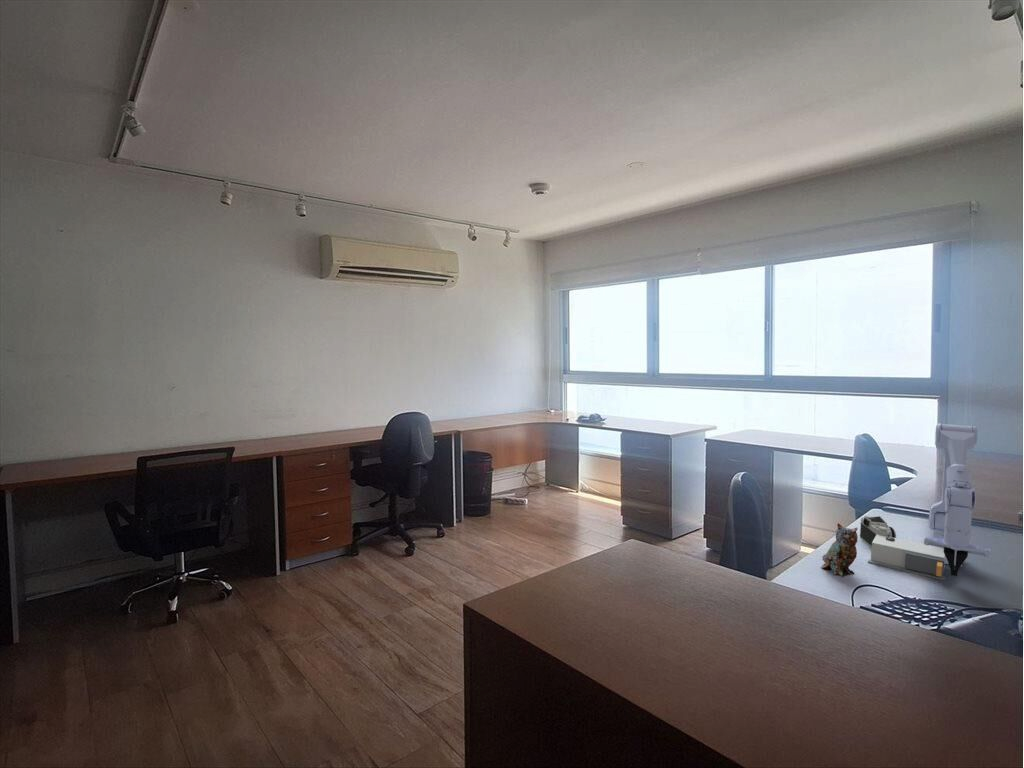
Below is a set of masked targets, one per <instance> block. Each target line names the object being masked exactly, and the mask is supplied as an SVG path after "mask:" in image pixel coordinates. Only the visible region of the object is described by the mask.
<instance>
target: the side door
mask: <svg viewBox="0 0 1024 768" xmlns="http://www.w3.org/2000/svg"><path fill="white" fill-rule="evenodd" d="M905 568H908V569H912V570H916V571H921V572H925V573H930V574H934V575H936V576H940V577H941V576H943V577H944V573H943V572H945V567H944V560H942V559H937V558H932V557H928V556H923V555H918V554H913V553H909V552H906V557H905Z"/></svg>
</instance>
